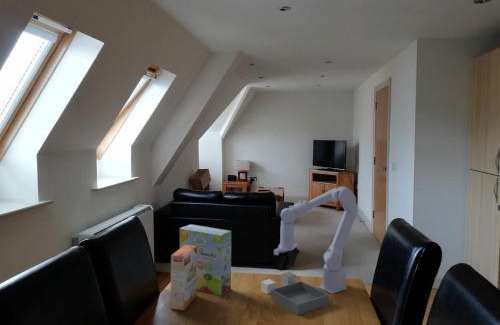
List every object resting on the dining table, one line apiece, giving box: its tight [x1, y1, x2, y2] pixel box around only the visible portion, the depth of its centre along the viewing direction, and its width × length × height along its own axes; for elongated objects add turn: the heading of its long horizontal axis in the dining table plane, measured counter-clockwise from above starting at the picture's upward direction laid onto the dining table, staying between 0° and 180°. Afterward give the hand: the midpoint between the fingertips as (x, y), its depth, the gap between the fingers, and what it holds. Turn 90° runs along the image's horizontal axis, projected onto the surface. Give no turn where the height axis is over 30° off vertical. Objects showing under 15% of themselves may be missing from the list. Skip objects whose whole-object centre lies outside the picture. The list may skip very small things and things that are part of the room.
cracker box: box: [170, 245, 198, 311], centre depth 144 cm, size 14×6×21 cm, turn 168°
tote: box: [270, 280, 330, 316], centre depth 147 cm, size 16×16×4 cm
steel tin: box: [280, 271, 297, 286], centre depth 163 cm, size 4×4×5 cm
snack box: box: [179, 224, 232, 297], centre depth 158 cm, size 22×9×26 cm, turn 62°
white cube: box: [260, 278, 277, 295], centre depth 157 cm, size 4×4×4 cm
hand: (286, 267), depth 160 cm, fingers open, 7 cm apart
